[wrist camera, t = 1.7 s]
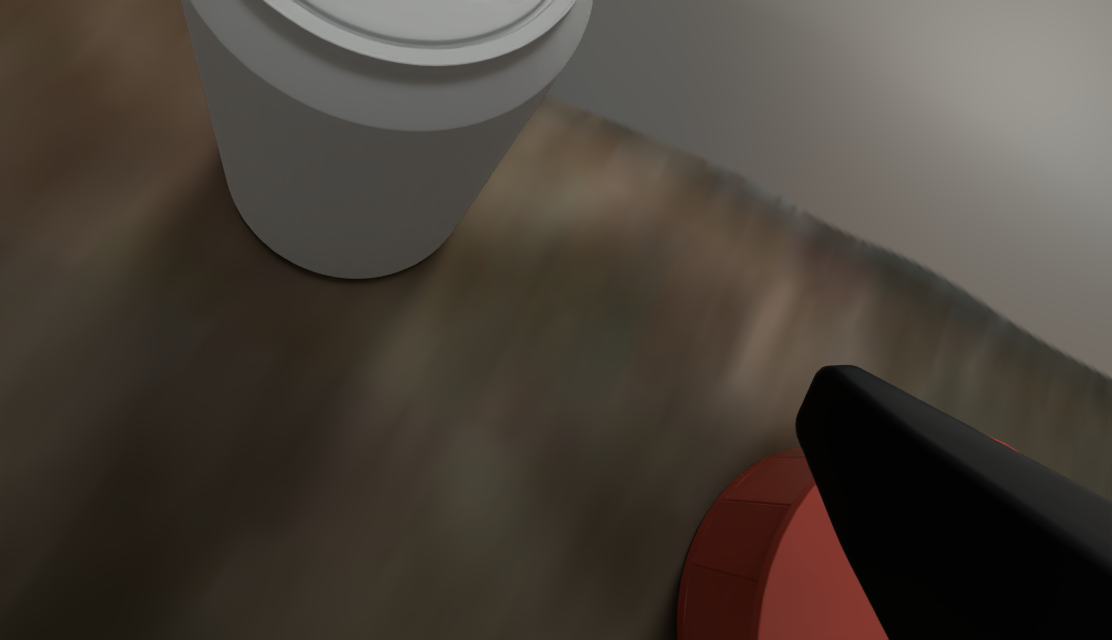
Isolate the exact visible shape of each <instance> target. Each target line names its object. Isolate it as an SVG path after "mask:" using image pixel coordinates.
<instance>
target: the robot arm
mask: <svg viewBox="0 0 1112 640" xmlns="http://www.w3.org/2000/svg"><path fill="white" fill-rule="evenodd" d="M796 434H797V438H798V440H799V443H800V445H801V448H802V450H803V453H804V455H805V458H806V460H807V463H808V466H809V468H810V471H811V473H812V476H813V478H814V481H815V483H816V486H817V488H818V491H819V493H820V496H821V498H822V501H823V503H824V506H825V508H826V511H827V513H828V516H829V518H830V521H831V523H832V526H833V528H834V531H835V533H836V535H837V538H838V540H839V542H840V545H841V547H842V549H843V551H844V553H845V555H846V557H847V559H848V561H849V564H850V565H851V567H852V569H853V571H854V573H855V575H856V577H857V579H858V581H859V583H860V585H861V587H862V589H863V591H864V593H865V595H866V597H867V599H868V600H869V602H870V604H871V606H872V608H873V610H874V612H875V614H876V616H877V618H878V620H879V622H880V624H881V626H882V628H883V630H884V632H885V633H886V635H887V637H888V639H889V640H1112V502H1111V501H1109V500H1107V499H1105V498H1103V497H1101V496H1100V495H1098V494H1096V493H1094V492H1092V491H1090V490H1088V489H1086V488H1085V487H1083V486H1081V485H1079V484H1077V483H1075V482H1073V481H1071V480H1070V479H1068V478H1066V477H1064V476H1062V475H1060V474H1058V473H1056V472H1055V471H1053V470H1051V469H1049V468H1047V467H1045V466H1043V465H1041V464H1040V463H1038V462H1036V461H1034V460H1032V459H1030V458H1028V457H1026V456H1024V455H1023V454H1021V453H1019V452H1017V451H1015V450H1013V449H1011V448H1009V447H1008V446H1006V445H1004V444H1002V443H1000V442H998V441H996V440H994V439H993V438H991V437H989V436H987V435H985V434H983V433H981V432H979V431H978V430H976V429H974V428H972V427H970V426H968V425H966V424H964V423H963V422H961V421H959V420H957V419H955V418H953V417H951V416H949V415H948V414H946V413H944V412H942V411H940V410H938V409H936V408H934V407H932V406H931V405H929V404H927V403H925V402H923V401H921V400H919V399H917V398H916V397H914V396H912V395H910V394H908V393H906V392H904V391H902V390H901V389H899V388H897V387H895V386H893V385H891V384H889V383H887V382H886V381H884V380H882V379H880V378H878V377H876V376H874V375H872V374H871V373H869V372H867V371H865V370H863V369H861V368H859V367H857V366H853V365H834V366H825V367H823V368H821V369H820V370H819V371H818V372H817V373H816V374H815V376H814V378H813V380H812V383H811V385H810V387H809V389H808V392H807V394H806V396H805V398H804V401H803V403H802V405H801V407H800V409H799V412H798V414H797V417H796Z"/></svg>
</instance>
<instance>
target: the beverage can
mask: <svg viewBox="0 0 1112 640" xmlns="http://www.w3.org/2000/svg"><path fill="white" fill-rule="evenodd" d="M181 3H182V7H183V11H184V15H185V19H186V23H187V27H188V31H189V35H190V39H191V43H192V47H193V50H194V54H195V58H196V62H197V66H198V70H199V74H200V78H201V82H202V86H203V90H204V94H205V98H206V102H207V105H208V109H209V113H210V117H211V121H212V125H213V129H214V133H215V137H216V141H217V145H218V149H219V153H220V157H221V160H222V164H223V168H224V172H225V176H226V180H227V183H228V187H229V190H230V193H231V196H232V198H233V201H234V203H235V205H236V207H237V209H238V210H239V212H240V214H241V216H242V217H243V219H244V220H245V222H246V223H247V224H248V226H249V227H250V228H251V229H252V231H253V232H254V233H255V234H256V235H257V236H258V237H259V238H260V239H261V240H262V241H263V242H264V243H265V244H266V245H267V246H268V247H270V248H271V249H272V250H273V251H274V252H276V253H277V254H279V255H280V256H282V257H284V258H285V259H287V260H289V261H290V262H292V263H294V264H296V265H298V266H300V267H303V268H305V269H308V270H310V271H313V272H316V273H320V274H323V275H327V276H333V277H339V278H349V279H363V278H374V277H381V276H385V275H389V274H393V273H396V272H399V271H402V270H404V269H406V268H409V267H411V266H413V265H415V264H417V263H419V262H420V261H422V260H424V259H425V258H426V257H428V256H429V255H431V254H432V253H433V252H434V251H436V250H437V249H438V248H439V247H440V246H441V245H442V244H443V243H444V242H445V241H446V240H447V238H448V237H449V236H450V235H451V233H452V232H453V230H454V229H455V227H456V226H457V224H458V223H459V222H460V220H461V219H462V217H463V216H464V214H465V213H466V211H467V210H468V208H469V207H470V205H471V204H472V202H473V201H474V199H475V198H476V196H477V195H478V193H479V192H480V191H481V189H482V188H483V186H484V185H485V183H486V182H487V180H488V179H489V177H490V176H491V174H492V173H493V171H494V170H495V168H496V167H497V165H498V164H499V163H500V161H501V160H502V158H503V157H504V155H505V154H506V152H507V151H508V149H509V148H510V146H511V145H512V143H513V142H514V140H515V139H516V137H517V136H518V134H519V133H520V132H521V130H522V129H523V127H524V126H525V124H526V123H527V121H528V120H529V118H530V117H531V115H532V114H533V112H534V111H535V109H536V108H537V106H538V105H539V104H540V102H541V101H542V99H543V98H544V96H545V95H546V93H547V92H548V90H549V89H550V87H551V86H552V84H553V83H554V81H555V80H556V78H557V77H558V76H559V74H560V73H561V71H562V70H563V68H564V67H565V65H566V64H567V62H568V60H569V59H570V58H571V56H572V55H573V53H574V51H575V49H576V48H577V46H578V45H579V42H580V40H581V38H582V36H583V33H584V31H585V28H586V26H587V23H588V20H589V17H590V13H591V9H592V4H593V0H181Z"/></svg>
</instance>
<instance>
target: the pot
mask: <svg viewBox="0 0 1112 640" xmlns="http://www.w3.org/2000/svg"><path fill="white" fill-rule="evenodd" d="M812 478H813V476H812V473H811V471H810V468H809V466H808V463H807V460H806V458H805V455H804V453H803V450H802V448H801V446H799V447H795V448H790V449H786V450H784V451H781V452H778V453H776V454H773V455H770V456H768V457H767V458H765V459H763V460H761V461H759V462H758V463H756V464H754V465H753V466H751V467H750V468H749V469H747V470H746V471H745V472H743V473H742V474H741V475H739V476H738V477H737V478H736V479H735V480H734V481H733V482H732V483H731V484H730V485H729V486H728V487H727V488H726V489H725V490H724V491H723V492H722V493H721V495H720V496H719V497H718V499H717V500H716V501H715V503H714V504H713V505H712V507H711V508H710V509H709V511H708V512H707V514H706V516H705V518H704V519H703V521H702V523H701V525H700V526H699V528H698V530H697V533H696V535H695V537H694V540H693V542H692V544H691V547H690V549H689V552H688V555H687V559H686V562H685V566H684V569H683V573H682V578H681V584H680V590H679V596H678V610H677V635H678V640H750V625H751V618H752V611H753V604H754V597H755V593H756V589H757V585H758V581H759V577H760V573H761V569H762V565H763V563H764V560H765V558H766V555H767V552H768V550H769V547H770V545H771V542H772V539H773V537H774V535H775V533H776V531H777V529H778V527H779V525H780V524H781V522H782V520H783V518H784V516H785V514H786V512H787V510H788V509H789V508H790V506H791V505H792V503H793V502H794V500H795V499H796V498H797V496H798V495H799V493H800V492H801V491H802V489H803V488H804V487H805V486H806V484H807V483H808V482H809V481H810V480H811V479H812Z"/></svg>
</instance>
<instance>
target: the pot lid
mask: <svg viewBox="0 0 1112 640" xmlns="http://www.w3.org/2000/svg"><path fill="white" fill-rule="evenodd" d="M985 435H986V434H985ZM987 436H988V435H987ZM989 437H990V436H989ZM991 438H992V437H991ZM993 439H994V438H993ZM994 440H996V441H998V442H1000V443H1002V444H1004V445H1006V446H1008V447H1009V448H1011V449H1013V448H1012V447H1010V446H1009V445H1007V444H1005V443H1003V442H1001V441H999V440H997V439H994ZM1013 450H1015V449H1013ZM1015 451H1017V450H1015ZM1017 452H1018V451H1017ZM1019 453H1020V452H1019ZM750 640H889V639H888V637H887V635H886V633H885V632H884V630H883V628H882V626H881V624H880V622H879V620H878V618H877V616H876V614H875V612H874V610H873V608H872V606H871V604H870V602H869V600H868V599H867V597H866V595H865V593H864V591H863V589H862V587H861V585H860V583H859V581H858V579H857V577H856V575H855V573H854V571H853V569H852V567H851V565H850V564H849V561H848V559H847V557H846V555H845V553H844V551H843V549H842V547H841V545H840V542H839V540H838V538H837V535H836V533H835V531H834V528H833V526H832V523H831V521H830V518H829V516H828V513H827V511H826V508H825V506H824V503H823V501H822V498H821V496H820V493H819V491H818V488H817V486H816V483H815V481H814V478H812V479H811V480H810V481H809V482H808V483H807V484H806V486H805V487H804V488H803V489H802V491H801V492H800V493H799V495H798V496H797V498H796V499H795V500H794V502H793V503H792V505H791V506H790V508H789V509H788V510H787V512H786V514H785V516H784V518H783V520H782V522H781V524H780V525H779V527H778V529H777V531H776V533H775V535H774V537H773V539H772V542H771V545H770V547H769V550H768V552H767V555H766V558H765V560H764V563H763V565H762V569H761V573H760V577H759V581H758V585H757V589H756V593H755V597H754V604H753V611H752V618H751V625H750Z"/></svg>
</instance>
